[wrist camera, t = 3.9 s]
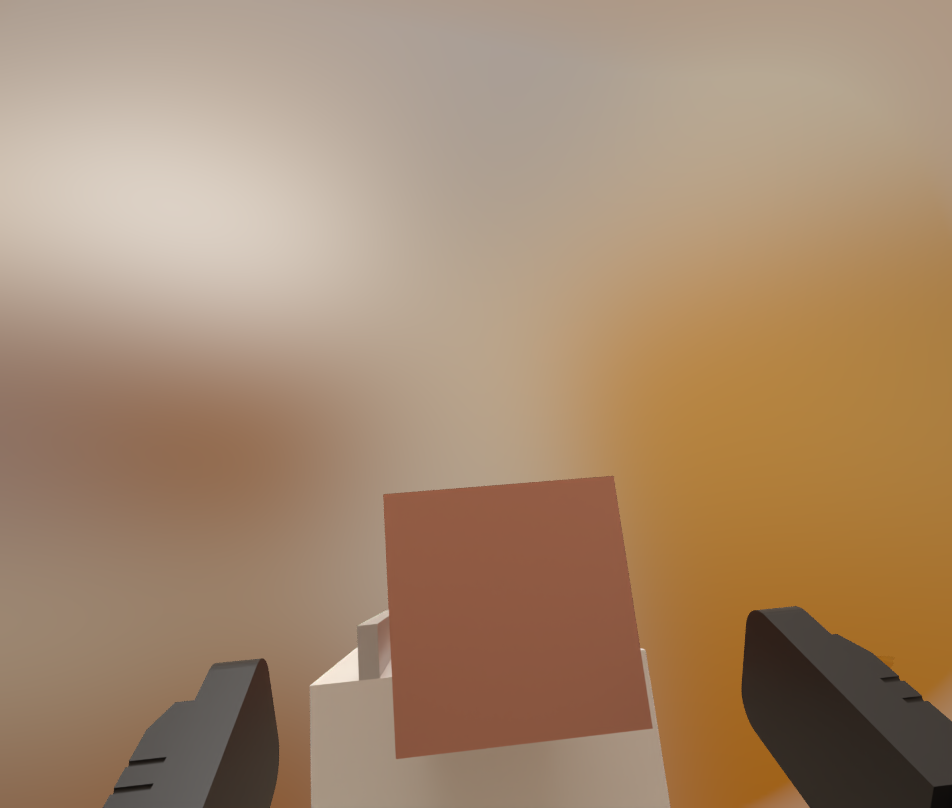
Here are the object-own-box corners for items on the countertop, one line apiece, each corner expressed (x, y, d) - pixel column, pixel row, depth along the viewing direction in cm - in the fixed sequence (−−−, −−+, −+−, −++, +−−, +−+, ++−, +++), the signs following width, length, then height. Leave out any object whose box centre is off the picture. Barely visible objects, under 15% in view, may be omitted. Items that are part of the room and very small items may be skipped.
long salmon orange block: (396, 759, 9) (383, 493, 10) (421, 639, 29) (416, 554, 30) (652, 728, 9) (613, 475, 11) (503, 631, 30) (495, 547, 31)
